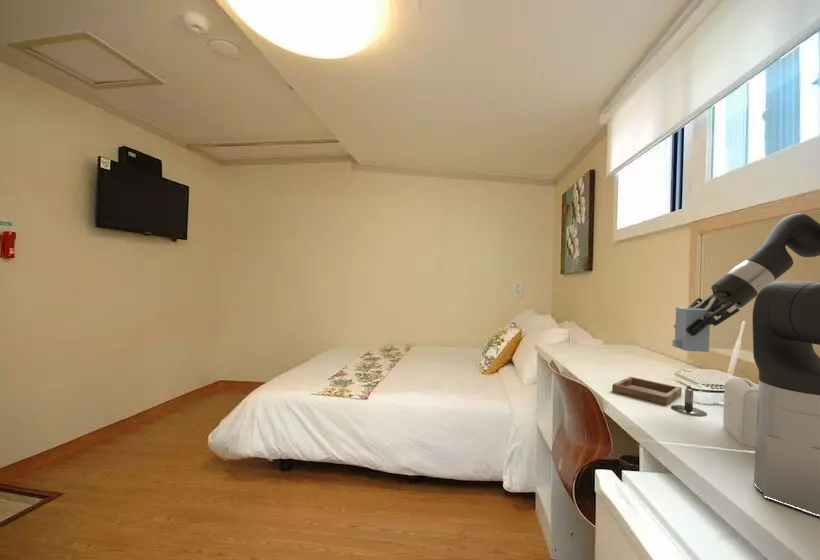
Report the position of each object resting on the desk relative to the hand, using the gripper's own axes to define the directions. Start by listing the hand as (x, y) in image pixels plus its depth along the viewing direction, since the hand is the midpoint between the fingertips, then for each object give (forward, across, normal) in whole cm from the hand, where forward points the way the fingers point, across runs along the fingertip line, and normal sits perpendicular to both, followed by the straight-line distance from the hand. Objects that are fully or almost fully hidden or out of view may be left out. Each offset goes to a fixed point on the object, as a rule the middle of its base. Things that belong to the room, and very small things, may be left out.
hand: (683, 331), depth 90 cm
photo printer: (+10, -13, -18) cm, 25 cm away
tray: (+16, +11, -12) cm, 23 cm away
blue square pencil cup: (+2, 0, -4) cm, 5 cm away
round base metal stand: (+13, 0, -16) cm, 20 cm away
